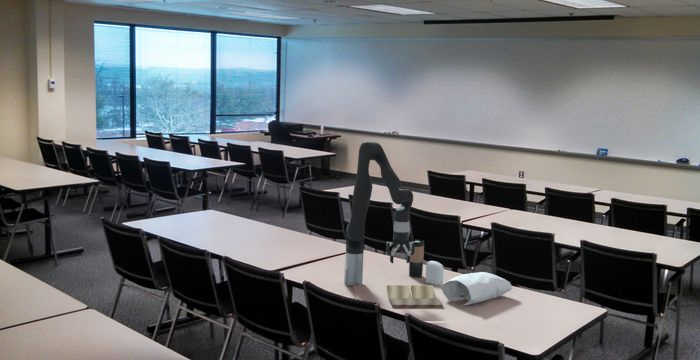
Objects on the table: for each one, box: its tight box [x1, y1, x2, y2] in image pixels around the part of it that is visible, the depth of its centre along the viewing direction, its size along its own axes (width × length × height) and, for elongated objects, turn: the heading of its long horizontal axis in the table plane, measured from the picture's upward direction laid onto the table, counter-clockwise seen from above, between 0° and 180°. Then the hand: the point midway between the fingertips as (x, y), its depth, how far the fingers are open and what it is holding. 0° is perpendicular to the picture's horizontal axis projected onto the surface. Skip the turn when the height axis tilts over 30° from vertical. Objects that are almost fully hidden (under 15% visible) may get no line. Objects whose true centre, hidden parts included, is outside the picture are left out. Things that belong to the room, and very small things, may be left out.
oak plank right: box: [410, 284, 437, 298], centre depth 312 cm, size 11×9×2 cm
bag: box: [439, 271, 513, 307], centre depth 316 cm, size 19×19×35 cm
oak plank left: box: [386, 284, 413, 300], centre depth 311 cm, size 11×9×2 cm
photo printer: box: [425, 260, 444, 286], centre depth 338 cm, size 10×4×12 cm, turn 39°
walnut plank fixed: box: [388, 297, 444, 309], centre depth 303 cm, size 24×9×2 cm, turn 96°
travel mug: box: [408, 238, 425, 279], centre depth 350 cm, size 8×8×20 cm
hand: (399, 262), depth 312 cm, fingers open, 7 cm apart
